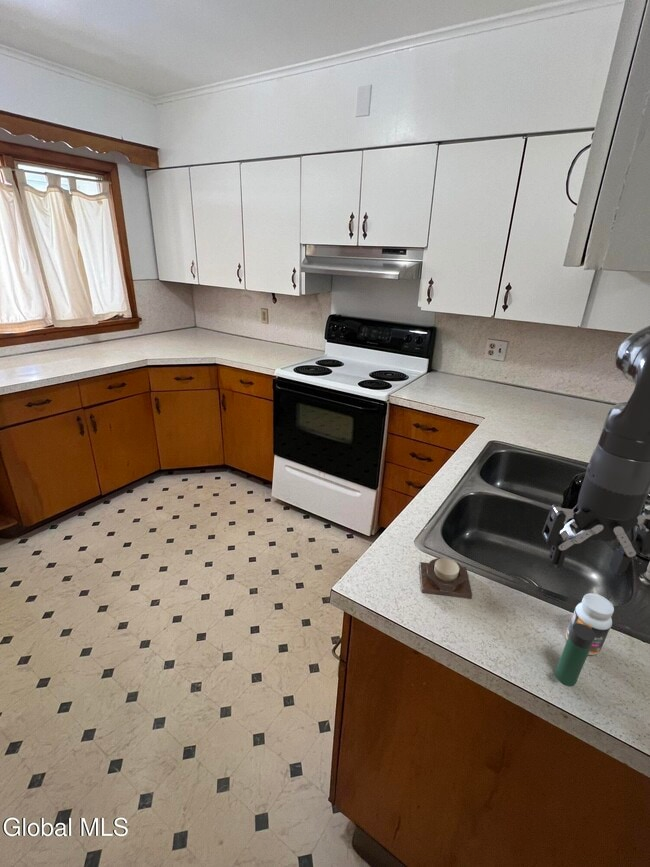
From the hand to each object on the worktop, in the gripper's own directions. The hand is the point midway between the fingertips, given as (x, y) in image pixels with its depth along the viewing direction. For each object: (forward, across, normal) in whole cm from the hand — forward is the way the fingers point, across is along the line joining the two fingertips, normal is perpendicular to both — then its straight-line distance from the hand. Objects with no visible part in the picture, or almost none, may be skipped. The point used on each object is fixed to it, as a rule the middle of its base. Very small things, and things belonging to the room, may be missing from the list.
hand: (585, 567), depth 65 cm
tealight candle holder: (+21, -17, +16) cm, 31 cm away
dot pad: (+19, -17, +16) cm, 30 cm away
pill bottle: (+22, +7, +4) cm, 23 cm away
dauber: (+21, +1, -3) cm, 21 cm away
